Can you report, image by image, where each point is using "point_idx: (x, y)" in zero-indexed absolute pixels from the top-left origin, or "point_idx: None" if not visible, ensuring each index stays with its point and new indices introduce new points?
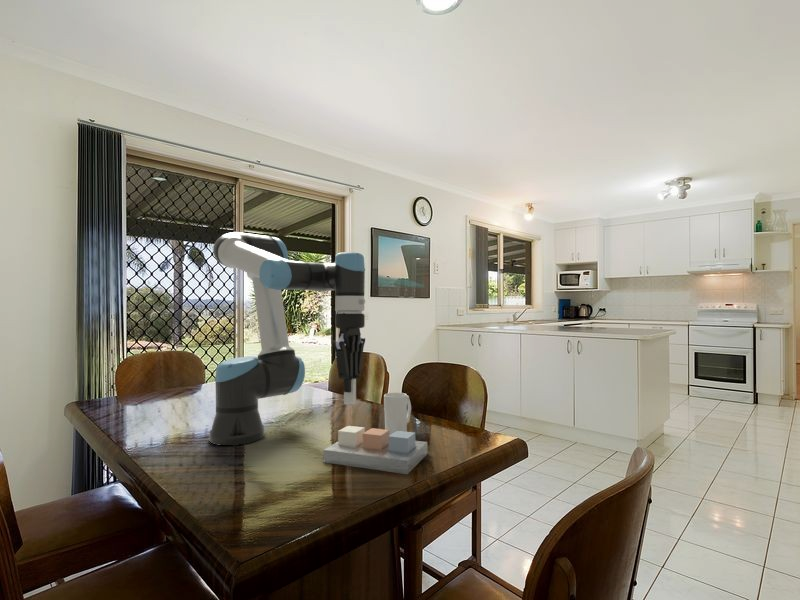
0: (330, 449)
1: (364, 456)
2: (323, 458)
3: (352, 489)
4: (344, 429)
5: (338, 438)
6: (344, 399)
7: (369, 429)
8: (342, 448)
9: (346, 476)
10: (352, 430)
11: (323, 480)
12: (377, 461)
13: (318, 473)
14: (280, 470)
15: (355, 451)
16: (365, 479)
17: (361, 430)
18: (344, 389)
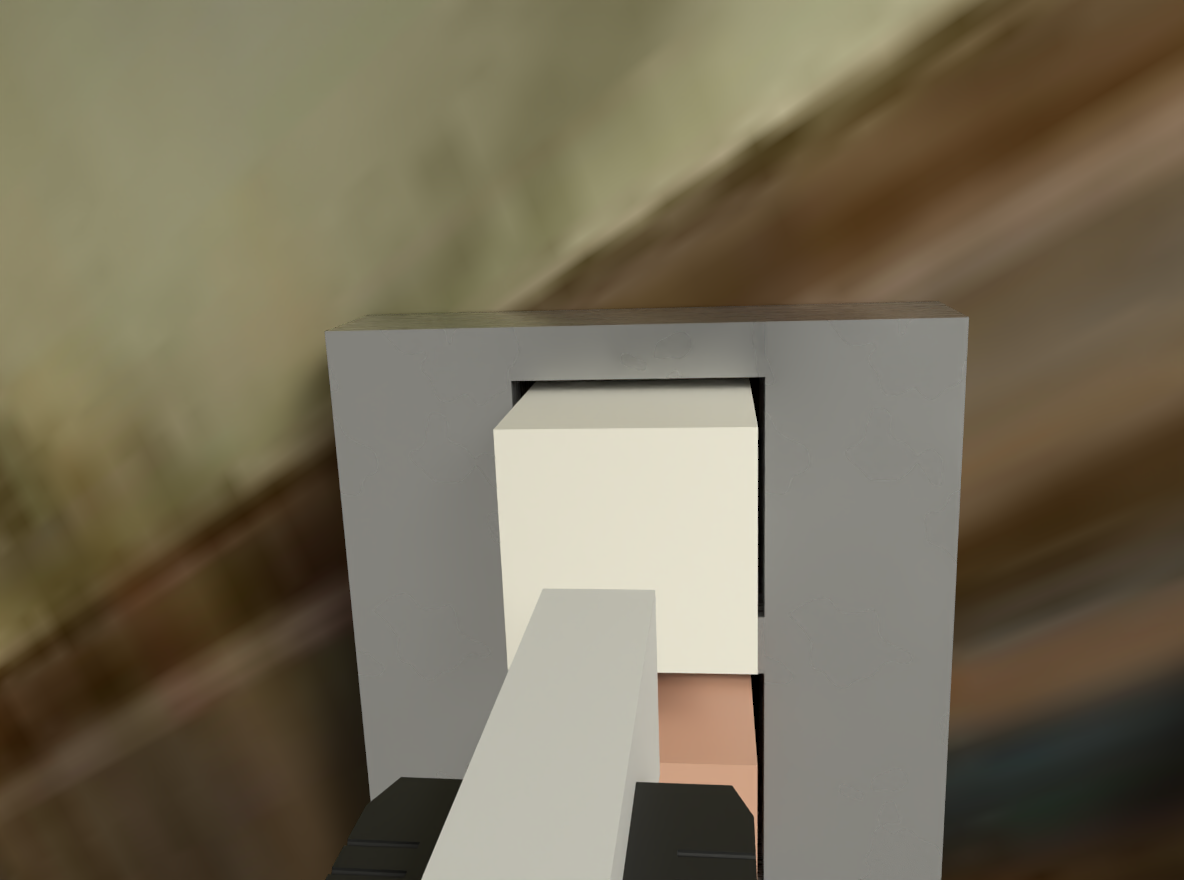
0: (364, 398)
1: (371, 773)
2: (356, 320)
3: (52, 799)
4: (578, 476)
5: (513, 412)
6: (528, 640)
7: (692, 765)
8: (438, 501)
9: (205, 662)
10: None
11: (65, 540)
12: None
13: (149, 425)
14: (39, 55)
15: (418, 662)
16: (225, 811)
17: (666, 665)
18: (361, 832)
